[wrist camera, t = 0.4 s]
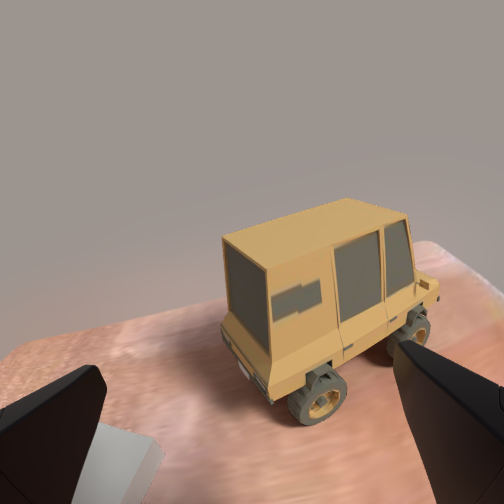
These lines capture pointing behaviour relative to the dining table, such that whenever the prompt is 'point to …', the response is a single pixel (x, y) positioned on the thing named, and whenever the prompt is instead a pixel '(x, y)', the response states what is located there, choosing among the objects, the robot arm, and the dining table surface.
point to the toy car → (321, 299)
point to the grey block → (118, 467)
